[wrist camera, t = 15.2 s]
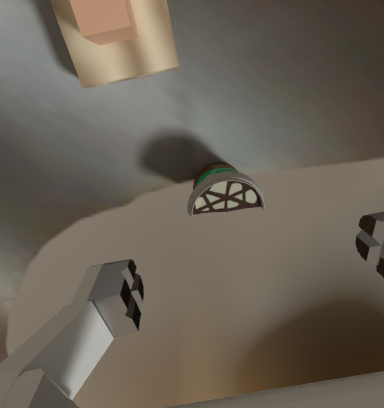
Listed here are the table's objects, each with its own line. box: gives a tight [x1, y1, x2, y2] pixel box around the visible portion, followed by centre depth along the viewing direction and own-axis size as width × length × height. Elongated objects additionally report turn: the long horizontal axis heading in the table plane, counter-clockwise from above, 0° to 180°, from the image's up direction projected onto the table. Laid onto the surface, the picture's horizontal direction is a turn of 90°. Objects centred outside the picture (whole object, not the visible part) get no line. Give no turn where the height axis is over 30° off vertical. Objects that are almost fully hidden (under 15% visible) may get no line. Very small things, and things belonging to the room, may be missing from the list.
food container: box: [188, 163, 265, 217], centre depth 38 cm, size 12×6×10 cm, turn 95°
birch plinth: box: [50, 0, 179, 88], centre depth 29 cm, size 13×13×5 cm
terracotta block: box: [70, 0, 139, 46], centre depth 24 cm, size 5×5×6 cm
